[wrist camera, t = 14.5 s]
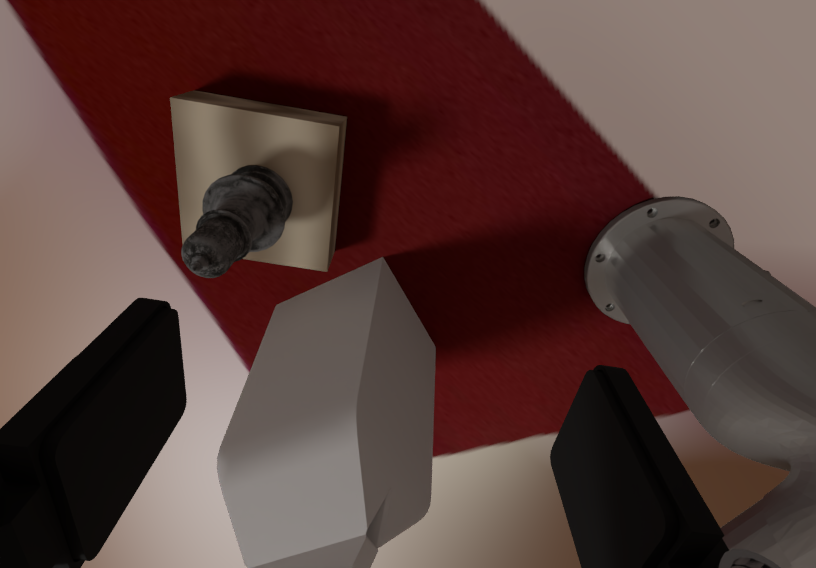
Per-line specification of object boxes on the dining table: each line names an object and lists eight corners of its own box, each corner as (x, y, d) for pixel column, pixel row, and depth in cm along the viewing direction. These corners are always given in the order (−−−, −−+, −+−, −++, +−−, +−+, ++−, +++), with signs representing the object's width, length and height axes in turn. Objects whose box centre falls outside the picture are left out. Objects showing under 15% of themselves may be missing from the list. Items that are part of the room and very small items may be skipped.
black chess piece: (270, 148, 34) (203, 203, 24) (310, 216, 37) (267, 293, 26) (205, 180, 35) (115, 245, 25) (248, 244, 38) (184, 327, 28)
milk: (382, 256, 43) (340, 518, 20) (435, 347, 48) (449, 638, 25) (276, 305, 46) (134, 581, 23) (336, 385, 51) (268, 677, 28)
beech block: (347, 116, 37) (339, 126, 33) (334, 251, 43) (326, 271, 39) (194, 90, 36) (170, 97, 33) (202, 230, 42) (183, 249, 38)
